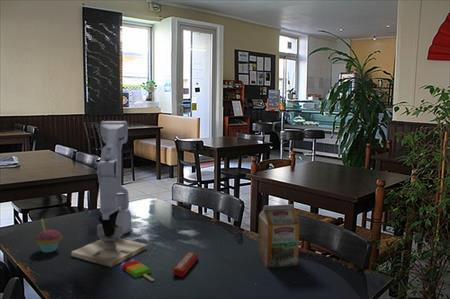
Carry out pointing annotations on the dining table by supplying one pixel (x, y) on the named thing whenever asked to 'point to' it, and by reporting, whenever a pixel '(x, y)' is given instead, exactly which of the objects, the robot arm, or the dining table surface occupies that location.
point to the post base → (109, 251)
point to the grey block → (115, 235)
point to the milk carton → (278, 236)
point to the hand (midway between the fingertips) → (109, 233)
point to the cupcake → (48, 239)
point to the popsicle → (137, 269)
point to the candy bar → (185, 264)
